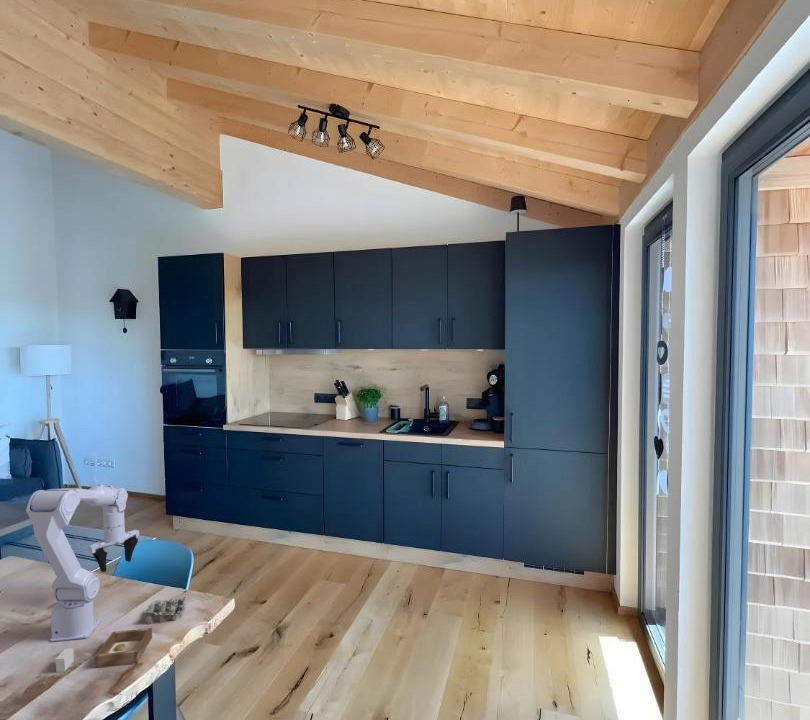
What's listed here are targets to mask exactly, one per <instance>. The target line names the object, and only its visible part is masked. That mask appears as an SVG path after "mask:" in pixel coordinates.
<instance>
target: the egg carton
mask: <svg viewBox="0 0 810 720" xmlns="http://www.w3.org/2000/svg"><path fill="white" fill-rule="evenodd" d="M185 602H186V596H184V597H182V598H175V599H173V598H171V599H166V600H159V599H158V600H155V601H153V602H152V603H150V604H149V605H148V607H147V608H146V610H145V611H143V614H142V615H144V624H145V623H146V624H148V625H152V624H154V623H156V622H159V623H160V622H162V623H165V622H166V621H168V620H171V621H172V622H175V621H178V620H179V619H181V618H182V617H183V612H185V611H186V603H185ZM157 610H158V611H157ZM165 610H166V611H165ZM177 610H178V611H177ZM160 612H161V613H160ZM164 612H166V614H163V613H164Z"/></svg>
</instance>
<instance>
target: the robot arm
mask: <svg viewBox="0 0 810 720" xmlns="http://www.w3.org/2000/svg"><path fill="white" fill-rule="evenodd" d="M128 497H129V494H128V491H127V490H126V488H124V487H114V486H113V485H107V486H105V485H104V484H100V483H99V484H96V485H95V486H92V487H90V488H88V489H85V488H77V487H64V488H51V489H46V490H44V489H39V490H35V492H33V494H32V495H31V496H30V498H29V499H28V502H27V504H26V505H27V506H26V509H25V512H26V514H27V515H28V517H29V519H30V521H31V523H32V529H33V534H34V537H35V539H36V541H37V544H38V545H39V547H40V549H41V550H42V552H43V554H44V556H45V557H46V559H47V561H48V563H49V565H50V567H51V569H52V570H53V572H54V575H55V576H56V577H55V578H54V581H52V585H51V588H52V590H53V598H54V600H55V601H57V602H56V603H55V605H54V607H53V608H52V611H51V615H50V624H51V625H50V627H51V638H50V640H49V641H50V642H58V641H61V642H62V641H68V640H69V641H70V640H71V641H72V640H79V639H87V638H88V637H89V636H90V635H91V634H92V632H93V631H94V630H95V629H96V627H97V626H98V625H99V623H101V619H95V617H94V615H95V613H94V599H95V598H96V596H97V595H98V593H99V591H100V588H101V581H100V579H99V578H98V577H97V576H95V575H94V574H93V572H91V571H90V570H88V569H85V568H82V566H81V564H80V561H78V558H77V557H76V555H75V551H73V549H72V546H71V544H70V542H69V540H68V538H67V536H66V534H65V532H64V530H63V528H65V527H67V526H69V523H70V521H71V519H72V518H73V515H74V514H75V511H76V509H77V507H78V506H79V505H80V503H81V502H85V504H86V505H89V506H91V507H101V508H102V516H103V517H102V519H103V520H102V522H103V539H101V540H99V541H97V542H95V543H94V544H91V545H89V546H88V553H90V554H91V555H92V556H93V557H94V558H95V560H96V562H97V565H98V566H99V571H100V572H102V573H106V572H107V555H108V551H106V550H105V549H106V548H110V547H112V546H114V545H117V544H118V545H120V544H122V543H123V548H124V560H125V562H128V563H130V562H132V558H133V557H132V556H133V553H134V550H135V548H136V546H137V544H138V543H139V538H138V537H140V530H139V529H132V530H129V531H126V528H125V527H126V526H125V525H126V524H125V523H126V522H125V510H126V508H127V501H128Z"/></svg>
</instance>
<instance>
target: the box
mask: <svg viewBox="0 0 810 720" xmlns="http://www.w3.org/2000/svg"><path fill="white" fill-rule="evenodd" d="M152 639H153V629H152V627H148V628H147V627H146V628H139V629H130V630H128V629H127V630H119V631H118V630H117V631H112V632H111V634H110V635H109V637H108V638H107V639H106V640H105V642H104V644H103V645H101V647H100V648H99V649H98V651H97V653H96V654H95V656H94V666H95V667H94V669H98V668H107V667H115V666H117V667H118V666H123V665H124V666H125V665H126V666H127V665H134V664H133V663H136V664H139V662H138V661H140V660H141V659H142V657H141V656H143V655H144V653H145V652H146V650H147V649H148V646H149V645H150V643H151V641H152ZM142 654H143V655H142ZM139 659H140V660H139Z"/></svg>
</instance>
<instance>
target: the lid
mask: <svg viewBox="0 0 810 720" xmlns="http://www.w3.org/2000/svg"><path fill="white" fill-rule="evenodd" d="M74 658H75V657H74V647H70V648H69V647H68V648H64V649H63V650H62V651H61V653H60V654H59V655H58V656H57V657H56V658H55V669H56V670H55V673H63V672H66V671H67V670H68V668H69V667H70V666H71V665H72V664H73V662H74V661H75V659H74Z"/></svg>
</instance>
